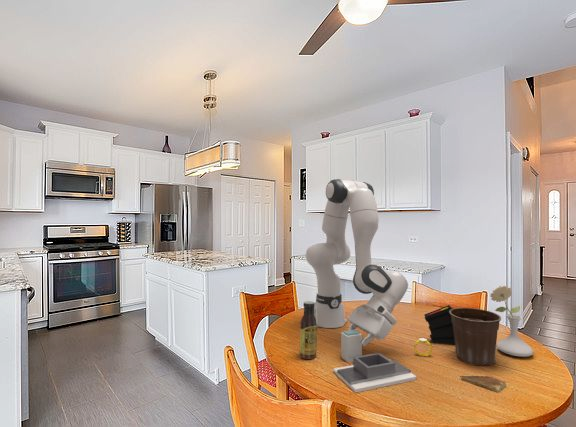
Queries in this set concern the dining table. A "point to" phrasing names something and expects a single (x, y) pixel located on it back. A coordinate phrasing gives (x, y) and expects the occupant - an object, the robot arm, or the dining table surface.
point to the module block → (351, 345)
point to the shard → (486, 382)
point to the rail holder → (373, 373)
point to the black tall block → (441, 326)
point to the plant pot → (475, 335)
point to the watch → (423, 342)
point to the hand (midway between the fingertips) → (355, 339)
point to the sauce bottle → (308, 332)
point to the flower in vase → (513, 341)
